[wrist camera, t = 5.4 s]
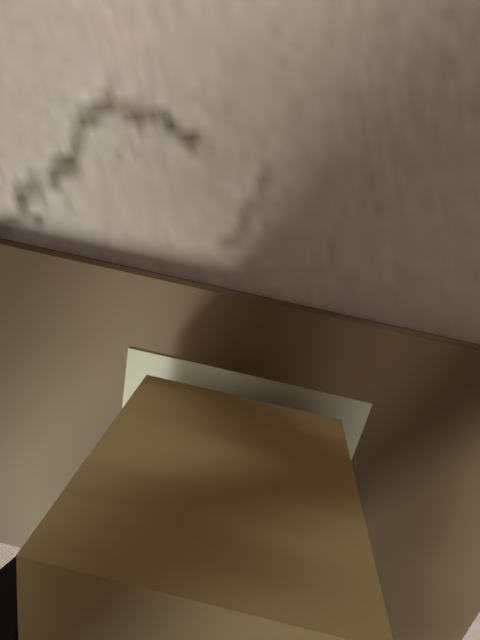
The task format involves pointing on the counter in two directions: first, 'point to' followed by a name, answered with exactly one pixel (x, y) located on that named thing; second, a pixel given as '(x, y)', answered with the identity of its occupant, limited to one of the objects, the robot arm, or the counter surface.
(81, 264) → the brown wooden board
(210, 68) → the counter surface
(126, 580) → the oak block
